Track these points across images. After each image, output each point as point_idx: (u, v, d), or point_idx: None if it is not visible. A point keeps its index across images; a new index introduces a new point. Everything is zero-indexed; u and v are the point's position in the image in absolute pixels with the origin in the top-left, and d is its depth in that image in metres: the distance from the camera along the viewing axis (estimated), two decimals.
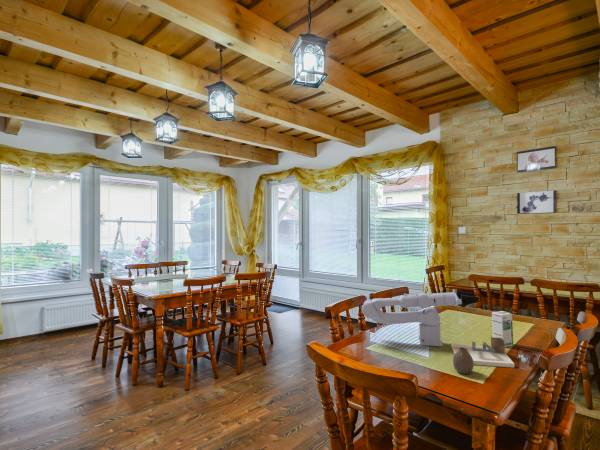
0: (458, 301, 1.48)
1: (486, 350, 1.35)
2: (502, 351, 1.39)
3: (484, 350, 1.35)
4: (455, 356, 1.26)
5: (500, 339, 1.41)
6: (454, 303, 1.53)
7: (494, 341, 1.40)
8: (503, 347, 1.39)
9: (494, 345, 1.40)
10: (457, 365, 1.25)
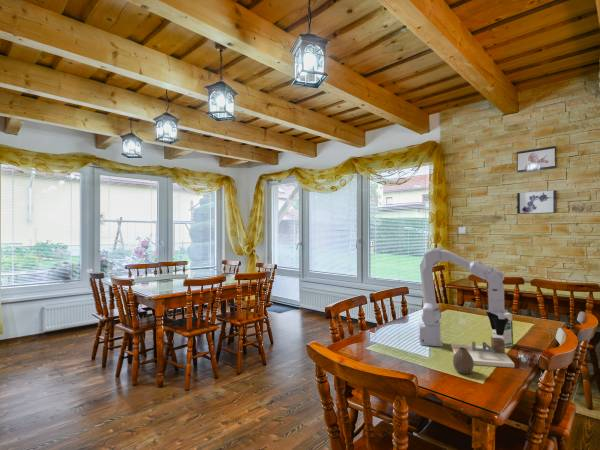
0: (502, 316, 1.34)
1: (486, 350, 1.35)
2: (502, 351, 1.39)
3: (484, 350, 1.35)
4: (455, 356, 1.26)
5: (500, 339, 1.41)
6: (493, 309, 1.39)
7: (494, 341, 1.40)
8: (503, 347, 1.39)
9: (494, 345, 1.40)
10: (457, 365, 1.25)
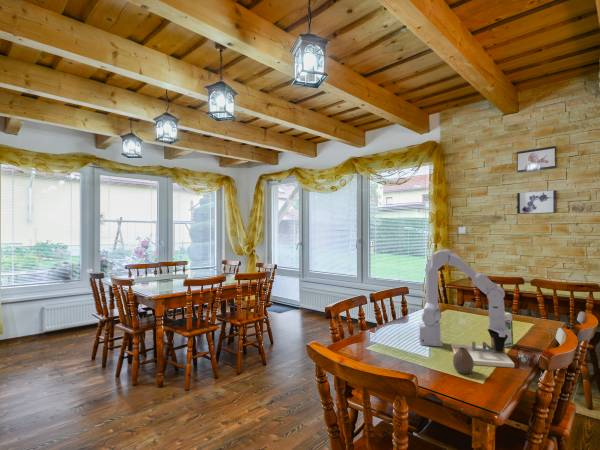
0: (503, 333, 1.34)
1: (486, 350, 1.35)
2: (502, 351, 1.39)
3: (484, 350, 1.35)
4: (455, 356, 1.26)
5: None
6: (494, 327, 1.39)
7: None
8: None
9: (494, 345, 1.40)
10: (457, 365, 1.25)
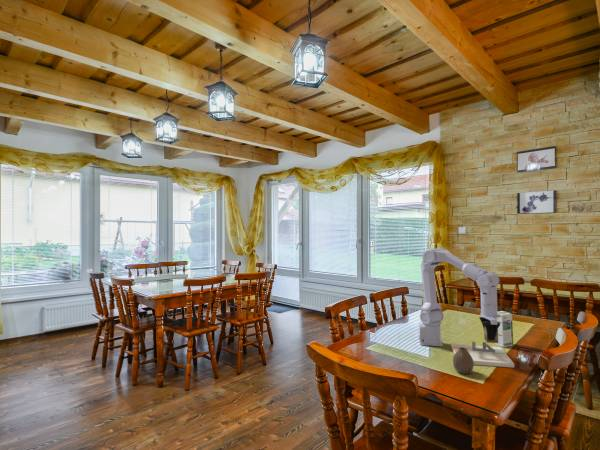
0: (495, 321, 1.28)
1: (486, 350, 1.35)
2: (495, 341, 1.32)
3: (484, 350, 1.35)
4: (455, 356, 1.26)
5: None
6: (485, 314, 1.33)
7: None
8: (497, 336, 1.32)
9: None
10: (457, 365, 1.25)
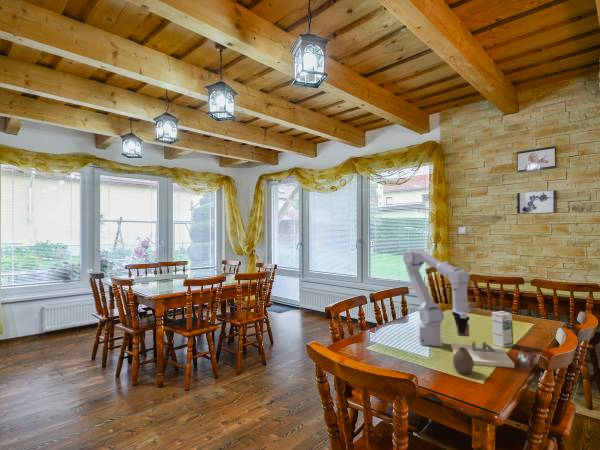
0: (464, 315, 1.37)
1: (486, 350, 1.35)
2: (467, 334, 1.41)
3: (484, 350, 1.35)
4: (455, 356, 1.26)
5: None
6: (456, 309, 1.42)
7: None
8: (468, 330, 1.41)
9: None
10: (457, 365, 1.25)
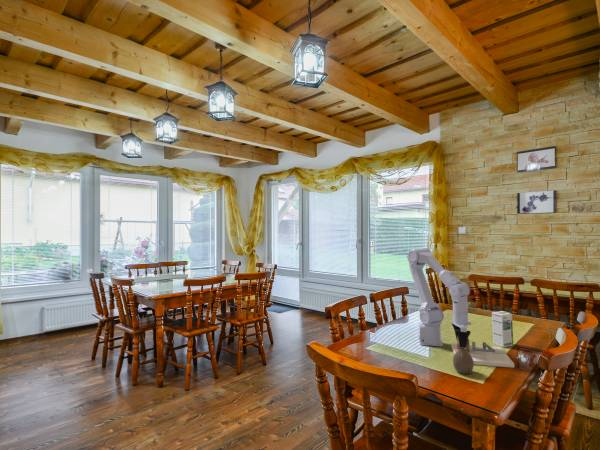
0: (464, 328, 1.37)
1: (486, 350, 1.35)
2: (467, 350, 1.41)
3: (484, 350, 1.35)
4: (455, 356, 1.26)
5: None
6: (457, 322, 1.42)
7: None
8: (468, 346, 1.41)
9: None
10: (457, 365, 1.25)
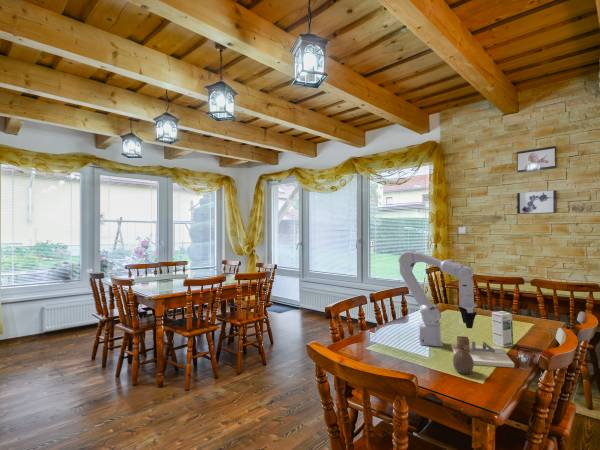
0: (470, 309, 1.42)
1: (486, 350, 1.35)
2: (467, 350, 1.41)
3: (484, 350, 1.35)
4: (455, 356, 1.26)
5: (465, 338, 1.43)
6: (463, 304, 1.47)
7: (459, 340, 1.42)
8: (468, 346, 1.41)
9: (459, 344, 1.42)
10: (457, 365, 1.25)
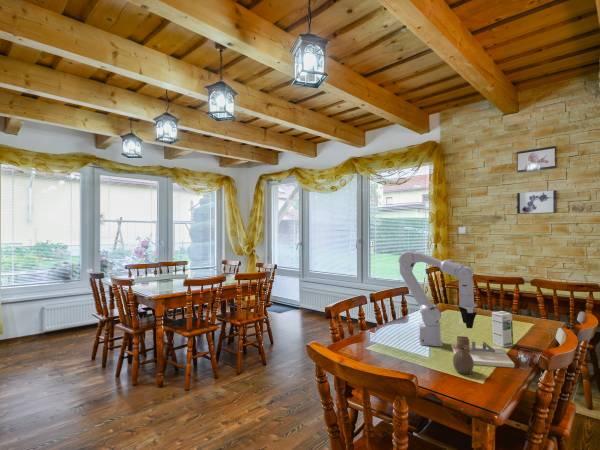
0: (470, 309, 1.42)
1: (486, 350, 1.35)
2: (467, 350, 1.41)
3: (484, 350, 1.35)
4: (455, 356, 1.26)
5: (465, 338, 1.43)
6: (463, 304, 1.47)
7: (459, 340, 1.42)
8: (468, 346, 1.41)
9: (459, 344, 1.42)
10: (457, 365, 1.25)
